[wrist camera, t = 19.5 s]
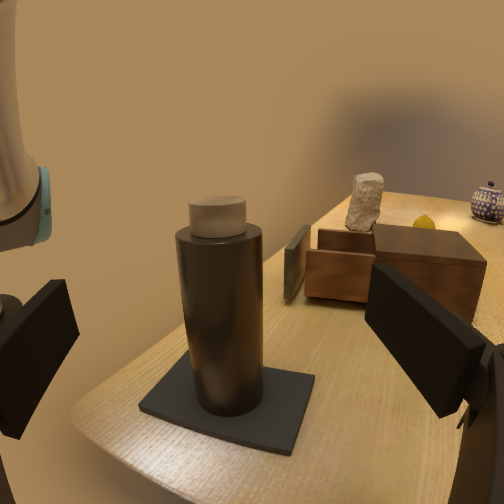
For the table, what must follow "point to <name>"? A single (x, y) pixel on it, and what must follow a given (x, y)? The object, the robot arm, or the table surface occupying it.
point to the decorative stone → (365, 202)
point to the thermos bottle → (223, 303)
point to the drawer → (330, 264)
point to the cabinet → (434, 264)
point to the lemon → (424, 222)
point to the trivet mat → (238, 427)
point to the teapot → (488, 204)
